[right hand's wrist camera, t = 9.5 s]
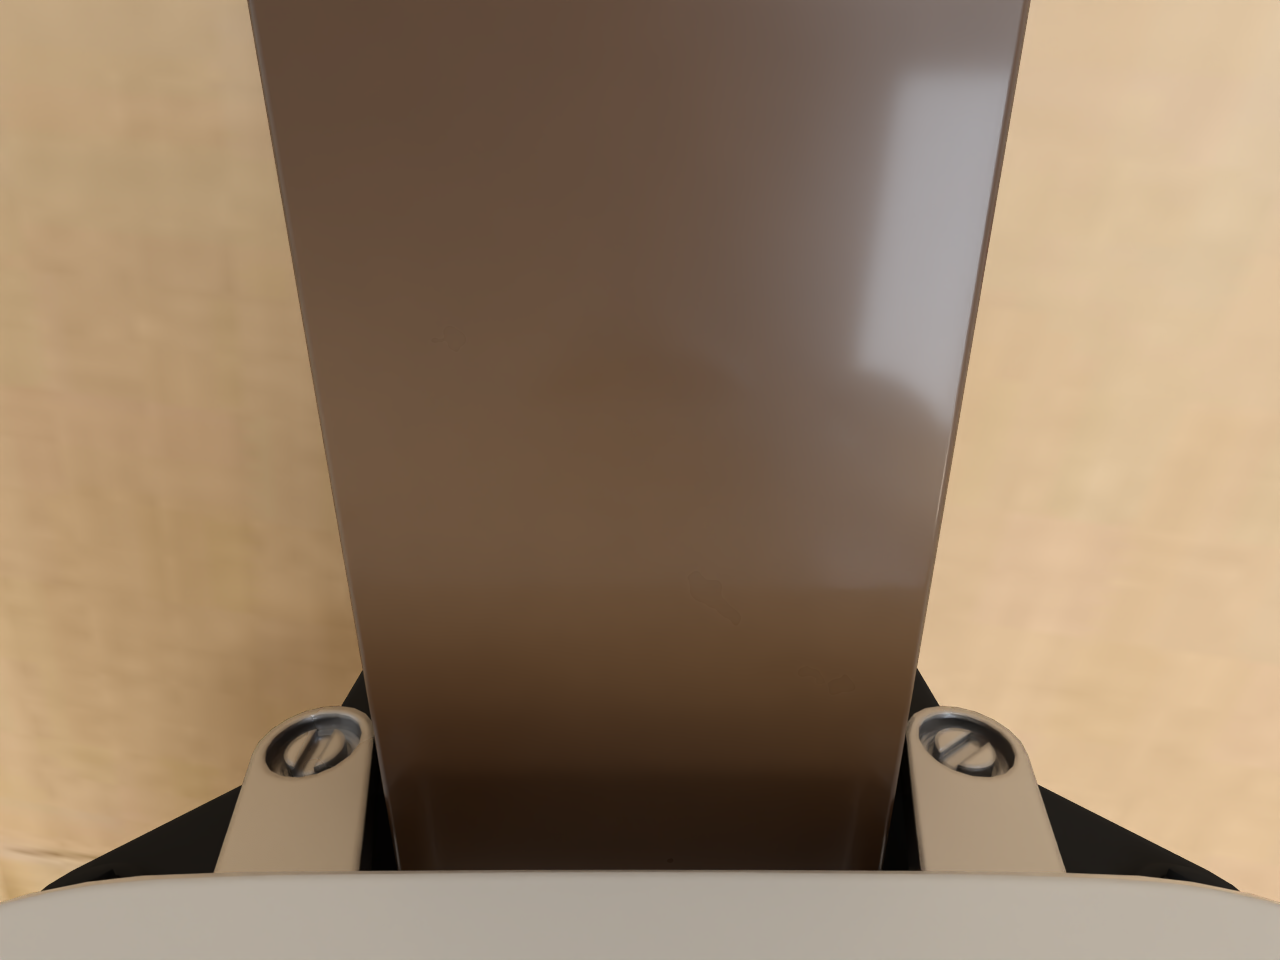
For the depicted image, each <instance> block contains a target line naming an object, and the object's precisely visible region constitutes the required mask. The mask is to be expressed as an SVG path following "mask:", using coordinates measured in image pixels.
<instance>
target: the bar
mask: <svg viewBox="0 0 1280 960" xmlns="http://www.w3.org/2000/svg"><path fill="white" fill-rule="evenodd" d="M247 1H248V7H249V13H250V19H251V24H252V30H253V36H254V42H255V48H256V53H257V59H258V65H259V71H260V77H261V82H262V88H263V94H264V100H265V106H266V111H267V117H268V123H269V129H270V135H271V140H272V146H273V152H274V158H275V164H276V169H277V175H278V181H279V187H280V193H281V198H282V204H283V210H284V216H285V222H286V227H287V233H288V239H289V245H290V251H291V256H292V262H293V268H294V274H295V280H296V285H297V291H298V297H299V303H300V309H301V314H302V320H303V326H304V332H305V338H306V343H307V349H308V355H309V361H310V367H311V372H312V378H313V384H314V390H315V396H316V401H317V407H318V413H319V419H320V425H321V430H322V436H323V442H324V448H325V454H326V459H327V465H328V471H329V477H330V483H331V488H332V494H333V500H334V506H335V512H336V517H337V523H338V529H339V535H340V541H341V546H342V552H343V558H344V564H345V570H346V575H347V581H348V587H349V593H350V599H351V604H352V610H353V616H354V622H355V628H356V633H357V639H358V645H359V651H360V656H361V662H362V668H363V674H364V680H365V685H366V691H367V697H368V703H369V709H370V714H371V720H372V726H373V732H374V738H375V743H376V749H377V755H378V761H379V767H380V772H381V778H382V784H383V790H384V796H385V801H386V807H387V813H388V819H389V825H390V830H391V836H392V842H393V848H394V854H395V859H396V865H397V871H448V870H832V871H882V869H883V863H884V857H885V851H886V845H887V840H888V834H889V828H890V822H891V816H892V810H893V804H894V798H895V793H896V787H897V781H898V775H899V769H900V763H901V757H902V752H903V746H904V740H905V734H906V728H907V722H908V716H909V710H910V705H911V699H912V693H913V687H914V681H915V675H916V669H917V664H918V658H919V652H920V646H921V640H922V634H923V628H924V622H925V617H926V611H927V605H928V599H929V593H930V587H931V581H932V576H933V570H934V564H935V558H936V552H937V546H938V540H939V534H940V529H941V523H942V517H943V511H944V505H945V499H946V493H947V488H948V482H949V476H950V470H951V464H952V458H953V452H954V446H955V441H956V435H957V429H958V423H959V417H960V411H961V405H962V399H963V394H964V388H965V382H966V376H967V370H968V364H969V358H970V353H971V347H972V341H973V335H974V329H975V323H976V317H977V311H978V306H979V300H980V294H981V288H982V282H983V276H984V270H985V265H986V259H987V253H988V247H989V241H990V235H991V229H992V223H993V218H994V212H995V206H996V200H997V194H998V188H999V182H1000V177H1001V171H1002V165H1003V159H1004V153H1005V147H1006V141H1007V135H1008V130H1009V124H1010V118H1011V112H1012V106H1013V100H1014V94H1015V89H1016V83H1017V77H1018V71H1019V65H1020V59H1021V53H1022V47H1023V42H1024V36H1025V30H1026V24H1027V18H1028V12H1029V6H1030V1H1031V0H247Z"/></svg>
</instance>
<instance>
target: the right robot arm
mask: <svg viewBox="0 0 1280 960" xmlns="http://www.w3.org/2000/svg"><path fill="white" fill-rule="evenodd" d="M0 960H1280V902H1277V901H1273V900H1270V899H1267V898H1263V897H1260V896H1257V895H1253V894H1250V893H1245V892H1240V891H1239V890H1238V889H1237V888H1235V887H1234V886H1233V885H1231V884H1230V883H1228V882H1226V881H1225V880H1223V879H1221V878H1220V877H1218V876H1216V875H1215V874H1213V873H1211V872H1210V871H1208V870H1206V869H1204V868H1202V867H1200V866H1198V865H1196V864H1194V863H1192V862H1190V861H1188V860H1186V859H1184V858H1182V857H1180V856H1178V855H1176V854H1174V853H1172V852H1170V851H1168V850H1166V849H1164V848H1162V847H1160V846H1158V845H1156V844H1154V843H1152V842H1150V841H1148V840H1146V839H1145V838H1143V837H1141V836H1139V835H1137V834H1135V833H1133V832H1131V831H1129V830H1127V829H1125V828H1123V827H1121V826H1119V825H1117V824H1115V823H1113V822H1111V821H1109V820H1107V819H1105V818H1103V817H1101V816H1099V815H1097V814H1095V813H1093V812H1091V811H1089V810H1087V809H1085V808H1083V807H1081V806H1079V805H1077V804H1075V803H1073V802H1071V801H1069V800H1067V799H1065V798H1063V797H1061V796H1060V795H1058V794H1056V793H1054V792H1052V791H1050V790H1048V789H1046V788H1044V787H1042V786H1040V785H1038V784H1037V781H1036V778H1035V775H1034V772H1033V769H1032V766H1031V763H1030V760H1029V757H1028V754H1027V752H1026V750H1025V749H1024V747H1023V745H1022V743H1021V741H1020V740H1019V739H1018V738H1017V737H1016V736H1015V735H1014V734H1013V733H1012V732H1011V731H1010V730H1009V729H1007V728H1005V727H1004V726H1002V725H1001V724H999V723H998V722H996V721H995V720H993V719H991V718H989V717H987V716H984V715H982V714H980V713H977V712H975V711H971V710H967V709H963V708H959V707H948V706H939V704H938V703H937V701H936V699H935V698H934V696H933V694H932V692H931V691H930V689H929V687H928V686H927V684H926V682H925V681H924V679H923V677H922V676H921V674H920V672H919V671H918V669H916V675H915V681H914V687H913V693H912V699H911V705H910V710H909V716H908V722H907V728H906V734H905V740H904V746H903V752H902V757H901V763H900V769H899V775H898V781H897V787H896V793H895V798H894V804H893V810H892V816H891V822H890V828H889V834H888V840H887V845H886V851H885V857H884V863H883V869H882V871H832V870H448V871H397V865H396V859H395V854H394V848H393V842H392V836H391V830H390V825H389V819H388V813H387V807H386V801H385V796H384V790H383V784H382V778H381V772H380V767H379V761H378V755H377V749H376V743H375V738H374V732H373V726H372V720H371V714H370V709H369V703H368V697H367V691H366V685H365V680H364V674H363V670H362V672H361V674H360V676H359V677H358V679H357V681H356V682H355V684H354V686H353V687H352V689H351V691H350V692H349V694H348V696H347V697H346V699H345V701H344V702H343V704H342V706H332V707H321V708H317V709H313V710H309V711H305V712H303V713H300V714H298V715H296V716H293V717H291V718H289V719H287V720H285V721H284V722H282V723H281V724H279V725H278V726H276V727H275V728H273V729H271V730H270V731H269V732H268V733H267V734H266V735H265V736H264V737H263V738H262V739H261V740H260V741H259V743H258V745H257V747H256V749H255V750H254V752H253V754H252V757H251V760H250V763H249V766H248V769H247V772H246V775H245V778H244V781H243V784H242V785H241V786H239V787H237V788H235V789H233V790H231V791H229V792H227V793H225V794H223V795H221V796H219V797H217V798H215V799H213V800H211V801H209V802H207V803H205V804H203V805H201V806H199V807H198V808H196V809H194V810H192V811H190V812H188V813H186V814H184V815H182V816H180V817H178V818H176V819H174V820H172V821H170V822H168V823H166V824H164V825H162V826H160V827H158V828H156V829H154V830H152V831H150V832H148V833H146V834H144V835H142V836H140V837H138V838H136V839H134V840H132V841H130V842H128V843H126V844H124V845H122V846H120V847H118V848H116V849H114V850H112V851H110V852H108V853H106V854H104V855H102V856H100V857H98V858H97V859H95V860H93V861H91V862H89V863H87V864H85V865H83V866H81V867H79V868H77V869H75V870H73V871H71V872H69V873H68V874H66V875H64V876H63V877H61V878H59V879H58V880H56V881H54V882H53V883H51V884H49V885H48V886H47V887H45V888H44V889H43V890H42V891H40V892H35V893H30V894H27V895H23V896H20V897H17V898H13V899H10V900H7V901H3V902H0Z"/></svg>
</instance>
